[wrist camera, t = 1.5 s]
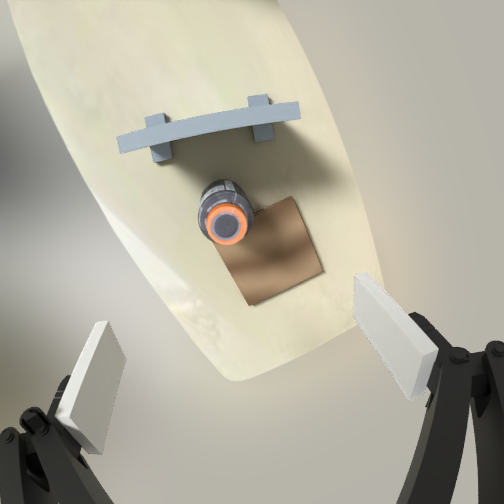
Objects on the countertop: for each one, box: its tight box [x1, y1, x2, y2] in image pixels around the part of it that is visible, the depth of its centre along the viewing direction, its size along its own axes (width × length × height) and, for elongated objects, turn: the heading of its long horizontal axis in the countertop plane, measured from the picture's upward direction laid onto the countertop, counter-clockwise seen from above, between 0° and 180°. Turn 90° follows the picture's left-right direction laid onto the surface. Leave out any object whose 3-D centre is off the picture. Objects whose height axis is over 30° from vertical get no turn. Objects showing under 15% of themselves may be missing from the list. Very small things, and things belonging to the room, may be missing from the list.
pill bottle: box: [198, 180, 254, 245], centre depth 35 cm, size 6×6×11 cm
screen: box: [117, 94, 301, 163], centre depth 30 cm, size 16×6×13 cm, turn 99°
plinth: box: [213, 196, 323, 306], centre depth 43 cm, size 12×12×1 cm
